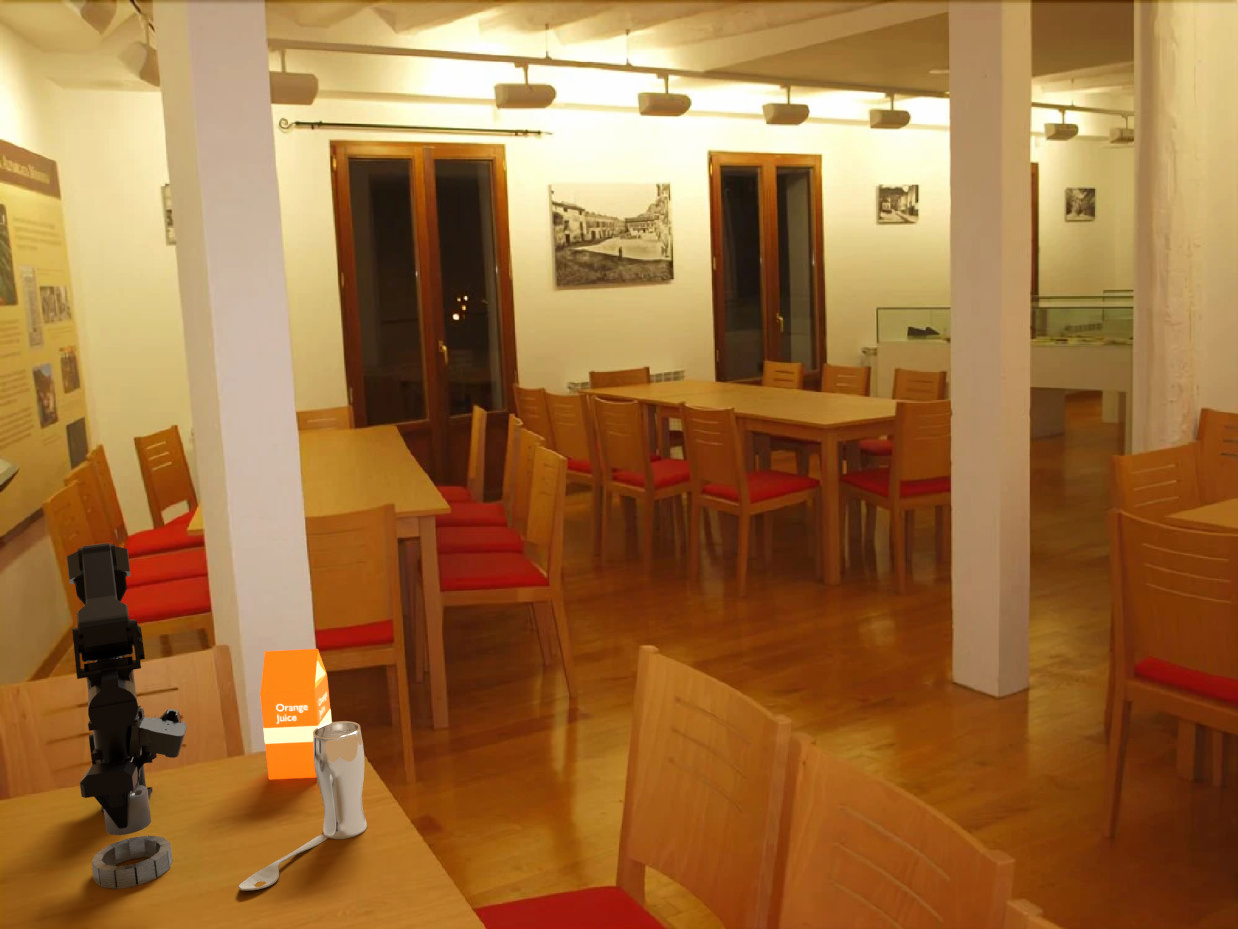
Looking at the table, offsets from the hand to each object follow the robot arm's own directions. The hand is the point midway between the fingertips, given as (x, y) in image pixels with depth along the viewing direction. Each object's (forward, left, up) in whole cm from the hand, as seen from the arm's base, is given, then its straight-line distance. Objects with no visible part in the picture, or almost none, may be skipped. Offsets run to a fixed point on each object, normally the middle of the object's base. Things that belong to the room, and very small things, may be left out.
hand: (127, 818), depth 156 cm
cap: (0, 0, -1) cm, 1 cm away
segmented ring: (0, 0, -7) cm, 7 cm away
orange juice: (-28, +21, -8) cm, 36 cm away
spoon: (+4, +21, -8) cm, 23 cm away
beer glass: (-3, +28, -8) cm, 29 cm away
